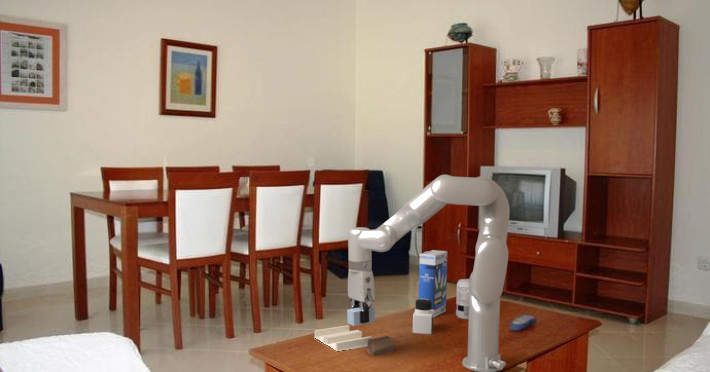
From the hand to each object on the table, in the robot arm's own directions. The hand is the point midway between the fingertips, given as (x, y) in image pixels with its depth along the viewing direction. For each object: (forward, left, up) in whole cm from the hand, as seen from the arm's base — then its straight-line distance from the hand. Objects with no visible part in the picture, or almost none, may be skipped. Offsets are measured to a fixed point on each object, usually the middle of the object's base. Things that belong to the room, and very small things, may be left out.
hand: (360, 320), depth 194 cm
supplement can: (+19, -64, -12) cm, 67 cm away
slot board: (+15, -3, -12) cm, 20 cm away
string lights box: (+30, -55, -12) cm, 63 cm away
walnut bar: (0, -8, -12) cm, 15 cm away
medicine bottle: (+12, -36, -12) cm, 39 cm away
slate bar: (0, 0, -1) cm, 1 cm away
